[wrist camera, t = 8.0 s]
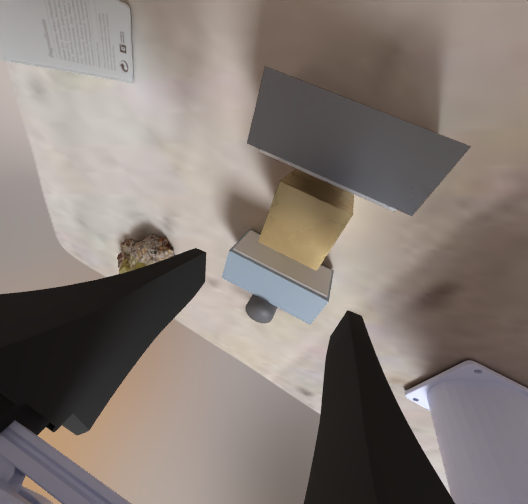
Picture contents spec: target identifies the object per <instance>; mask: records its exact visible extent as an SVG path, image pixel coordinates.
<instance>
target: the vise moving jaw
mask: <svg viewBox="0 0 528 504" xmlns="http://www.w3.org/2000/svg"><path fill="white" fill-rule="evenodd" d="M259 238H260V234H258V233H256V232H254V231H252V230H249V231H248V232H247V233H246V234H245V235H244V236H243V237H242V238H241V239H240V240H239V241H238V242H237V243H236V244H235V245H234V246H233V247H232V248H231V249H230V250H229V253H228V257H227V261H226V264H225V268H224V272H223V276H222V278H224V279H225V280H227V281H229V282H231V283H233V284H235V285H237V286H239V287H240V288H242V289H244V290H246V291H248V292H250V293H252V294H253V295H252V297H251V298H250V300H249V302H248V303H247V305H246V312H247V314H248V315H249V317H250V318H252V319H253V320H255V321H256V322H259V323H268V322H270V321H271V320H272V318H273V316H274V314H275V311H276V309H277V307H278V308H280V309H282V310H284V311H285V312H287V313H289V314H291V315H293V316H295V317H297V318H299V319H300V320H302V321H304V322H306V323H308V324H311V323H312V322H313V321H314V319H315V318H316V317H317V316H318V314H319V313H320V312H321V311H322V309H323V308H324V307H325V306H326V304H327V303H328V302H329V296H330V290H331V284H332V278H333V270H331V269H329V268H327V267H325V266H323V265H320V267H319V268H318V270H317V271H316V270H314V269H311V268H309V267H307V266H305V265H303V264H301V263H299V262H297V261H295V260H293V259H291V258H289V257H287V256H285V255H283V254H281V253H279V252H277V251H275V250H273V249H271V248H269V247H267V246H265V245H263V244H261V243H259V242H258V241H259Z"/></svg>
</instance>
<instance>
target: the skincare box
mask: <svg viewBox="0 0 528 504" xmlns="http://www.w3.org/2000/svg"><path fill="white" fill-rule="evenodd" d="M0 60H1V61H6V62H13V63H19V64H24V65H30V66H36V67H42V68H48V69H54V70H59V71H65V72H71V73H76V74H82V75H88V76H94V77H99V78H105V79H111V80H117V81H123V82H129V83H133V59H132V39H131V15H130V8H129V6H128V5H127V4H126V3H124V2H122V1H120V0H0Z"/></svg>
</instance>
